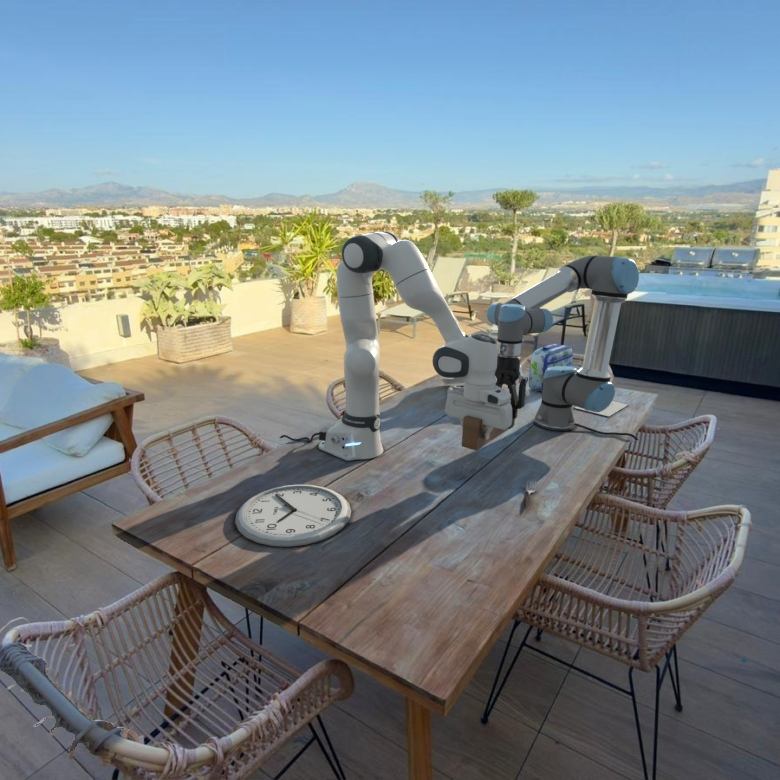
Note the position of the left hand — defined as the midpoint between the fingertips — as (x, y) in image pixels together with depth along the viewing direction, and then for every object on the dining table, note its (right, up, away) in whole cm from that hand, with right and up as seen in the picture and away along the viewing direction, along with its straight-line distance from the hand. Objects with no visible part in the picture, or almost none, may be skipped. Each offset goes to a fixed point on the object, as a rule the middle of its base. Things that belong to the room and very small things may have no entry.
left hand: (476, 435), depth 154 cm
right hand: (+11, +2, +15) cm, 18 cm away
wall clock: (-51, -19, -16) cm, 56 cm away
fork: (+14, -17, -5) cm, 23 cm away
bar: (+5, -1, +8) cm, 9 cm away
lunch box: (+51, +14, +97) cm, 111 cm away
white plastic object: (+16, +12, +89) cm, 92 cm away
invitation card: (+66, +6, +72) cm, 98 cm away
